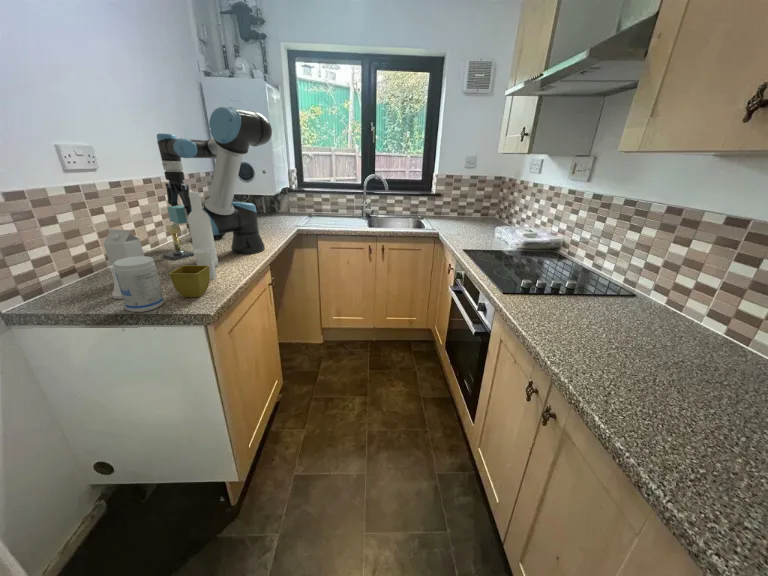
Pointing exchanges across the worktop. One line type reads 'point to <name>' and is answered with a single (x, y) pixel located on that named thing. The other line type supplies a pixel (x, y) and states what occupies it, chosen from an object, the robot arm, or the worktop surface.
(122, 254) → the milk carton
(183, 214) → the teal block
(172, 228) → the key
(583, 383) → the worktop surface
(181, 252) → the plate
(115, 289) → the salt shaker
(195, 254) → the cup
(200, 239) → the bottle
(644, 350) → the worktop surface
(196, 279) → the flower pot
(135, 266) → the supplement tub
